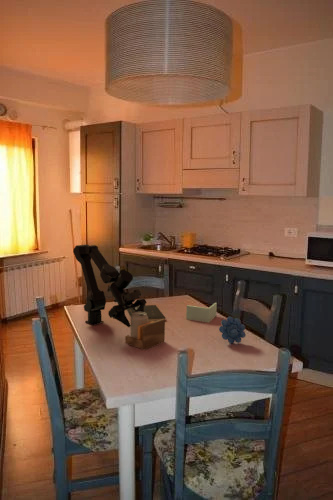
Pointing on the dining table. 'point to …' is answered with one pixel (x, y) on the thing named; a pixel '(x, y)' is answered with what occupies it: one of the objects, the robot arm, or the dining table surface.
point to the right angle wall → (201, 313)
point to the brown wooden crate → (149, 335)
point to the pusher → (141, 331)
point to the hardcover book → (150, 313)
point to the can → (137, 322)
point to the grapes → (232, 330)
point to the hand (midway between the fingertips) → (137, 324)
